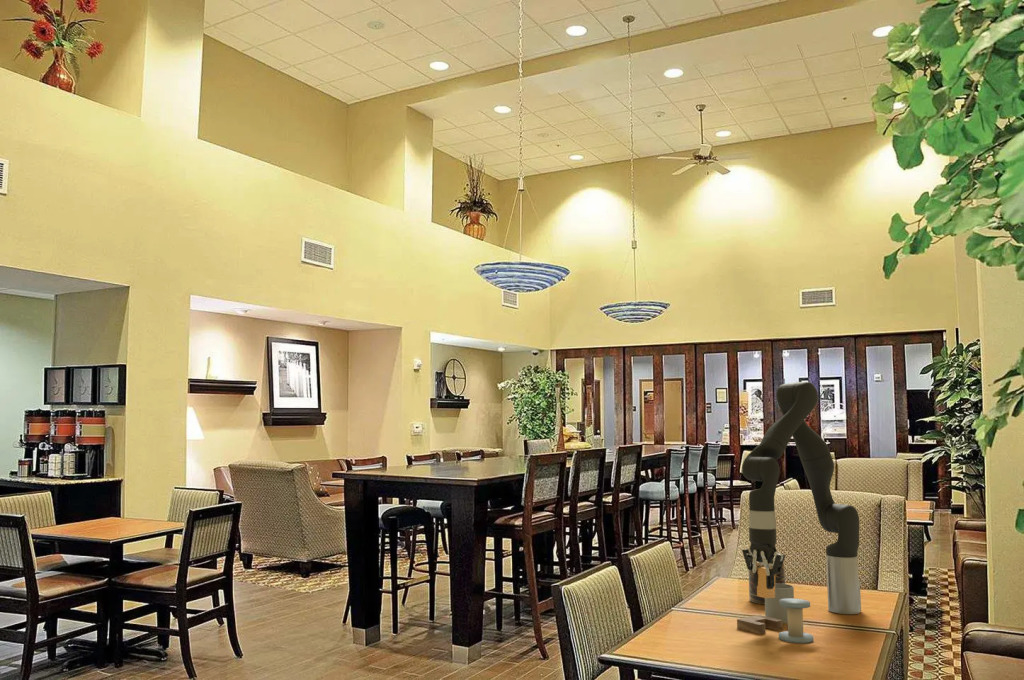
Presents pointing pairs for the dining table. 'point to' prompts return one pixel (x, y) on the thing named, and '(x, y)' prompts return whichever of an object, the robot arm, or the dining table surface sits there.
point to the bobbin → (795, 621)
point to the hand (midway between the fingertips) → (764, 587)
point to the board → (759, 624)
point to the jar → (753, 589)
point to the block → (764, 585)
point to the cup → (772, 604)
